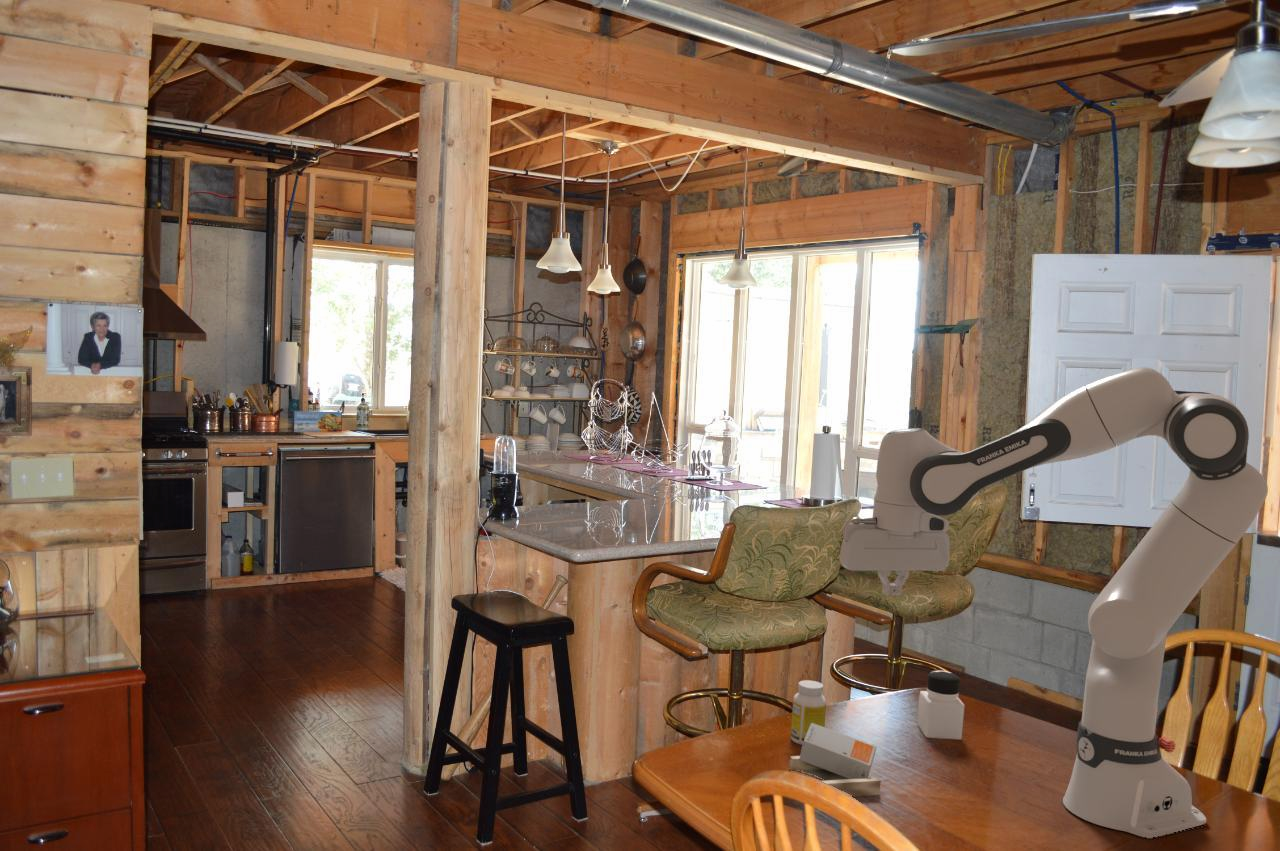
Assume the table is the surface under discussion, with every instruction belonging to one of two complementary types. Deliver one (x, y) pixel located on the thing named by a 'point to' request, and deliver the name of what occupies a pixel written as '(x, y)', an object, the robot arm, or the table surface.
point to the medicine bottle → (941, 707)
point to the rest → (837, 779)
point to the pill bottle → (807, 709)
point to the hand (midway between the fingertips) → (891, 594)
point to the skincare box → (837, 752)
